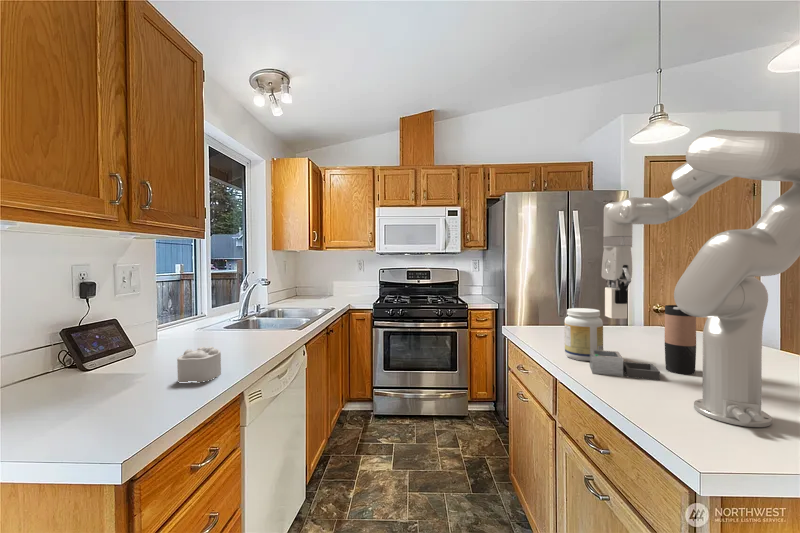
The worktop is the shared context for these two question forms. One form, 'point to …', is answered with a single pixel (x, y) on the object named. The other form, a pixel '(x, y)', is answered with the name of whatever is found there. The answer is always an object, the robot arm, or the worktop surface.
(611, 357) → the port
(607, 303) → the plug
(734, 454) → the worktop surface
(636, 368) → the dark grey tray
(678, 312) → the travel mug
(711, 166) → the robot arm
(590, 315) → the supplement tub
